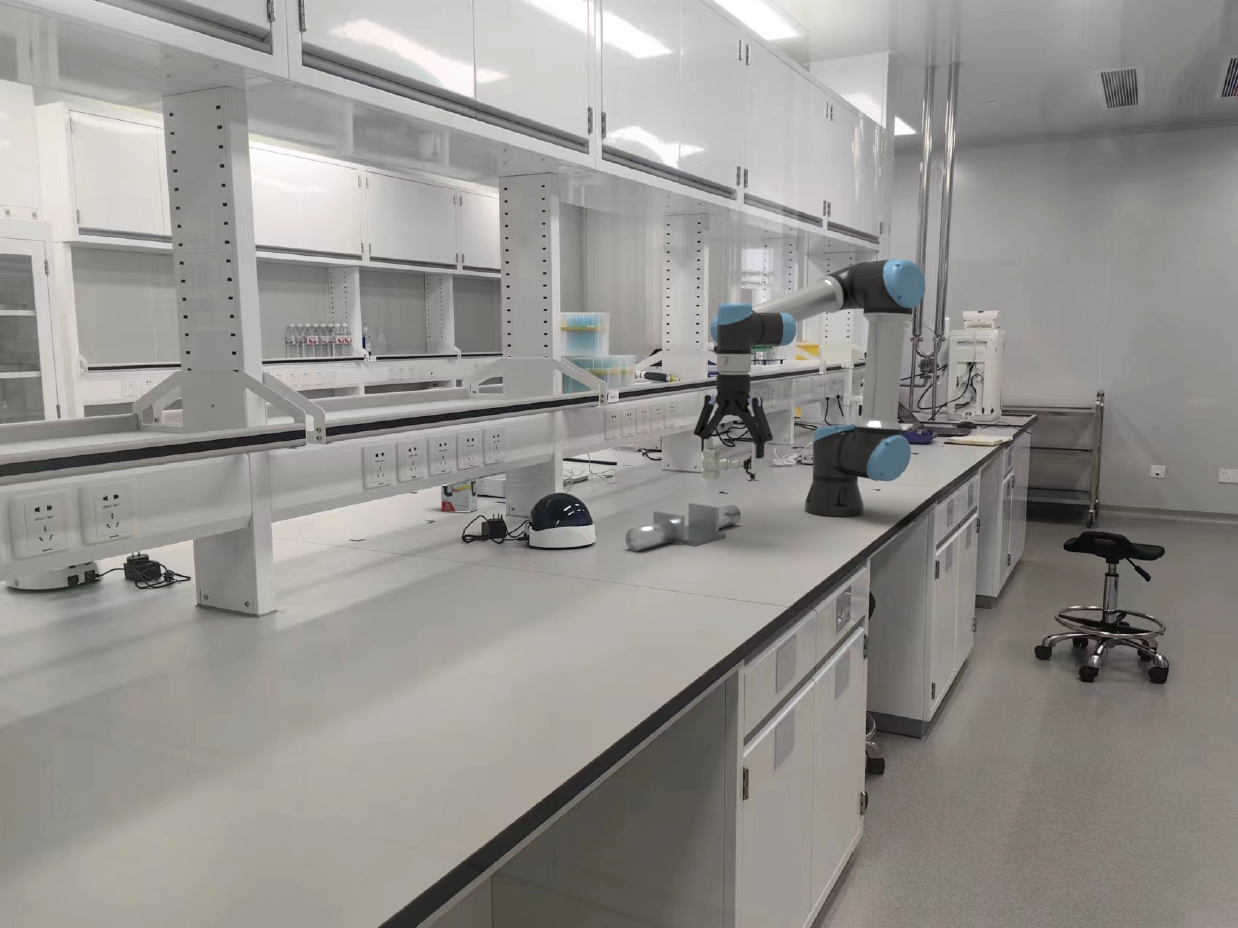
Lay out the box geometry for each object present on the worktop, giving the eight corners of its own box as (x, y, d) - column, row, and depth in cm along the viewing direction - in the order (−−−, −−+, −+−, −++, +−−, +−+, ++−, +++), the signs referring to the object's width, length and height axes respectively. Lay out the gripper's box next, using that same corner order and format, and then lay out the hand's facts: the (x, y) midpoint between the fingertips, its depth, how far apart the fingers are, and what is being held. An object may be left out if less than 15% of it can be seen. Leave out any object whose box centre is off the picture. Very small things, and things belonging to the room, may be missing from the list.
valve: (699, 479, 196) (753, 481, 194) (700, 450, 195) (754, 452, 193) (703, 475, 203) (756, 477, 200) (704, 446, 202) (756, 448, 199)
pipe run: (709, 520, 223) (709, 495, 222) (755, 528, 214) (756, 502, 213) (610, 546, 196) (610, 517, 195) (659, 556, 186) (659, 526, 186)
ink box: (440, 511, 234) (439, 467, 232) (449, 508, 239) (448, 465, 237) (469, 513, 232) (468, 469, 230) (478, 509, 236) (477, 466, 235)
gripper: (679, 372, 200) (678, 466, 203) (772, 375, 184) (769, 477, 187) (698, 371, 205) (697, 463, 208) (790, 374, 190) (787, 473, 193)
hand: (731, 470), depth 198 cm, fingers closed on valve, 12 cm apart
